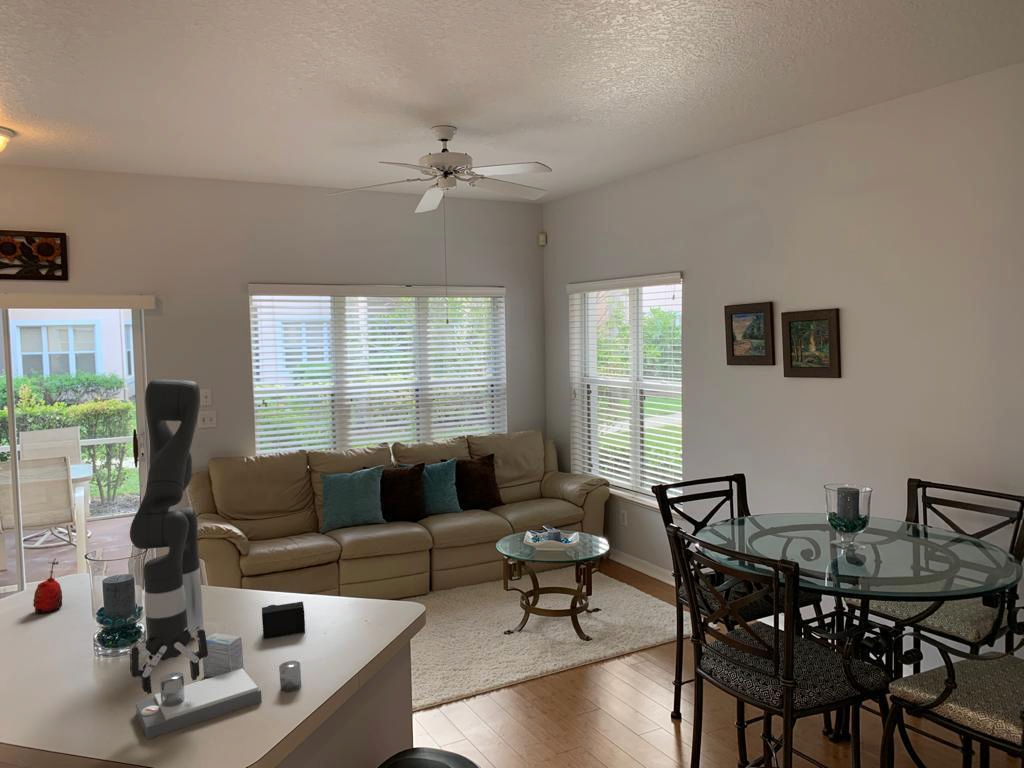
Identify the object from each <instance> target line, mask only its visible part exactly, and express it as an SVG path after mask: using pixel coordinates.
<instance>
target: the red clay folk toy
mask: <svg viewBox="0 0 1024 768" xmlns="http://www.w3.org/2000/svg"><path fill="white" fill-rule="evenodd" d="M56 560H57V558H54V559H53V561H52V562H50V561H48V563H49V564H52V566H51V570H49V572H50V576H49V578H47V579H46V580H44V581H42V582H40V583H38V584H37V587H36V589H35V591H34V595H33V605H32V606H33V607H34V611H35V614H39V615H40V614H41V613H42V614H47V613H51V612H55V611H56V610H57V611H58V610H59V609H61V608H62V606H63V591H62V590H63V589H62V588H61V585H60V583H59V582H58V581H57V580H56V579H55V577H53V572H54V571H53V569H54V565H59V561H58V560H57V561H56ZM55 561H56V562H55Z"/></svg>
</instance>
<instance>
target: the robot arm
mask: <svg viewBox="0 0 1024 768" xmlns="http://www.w3.org/2000/svg"><path fill="white" fill-rule="evenodd" d="M144 395H145V396H144V405H145V414H146V423H147V430H148V439H149V468H148V472H147V474H148V475H147V482H146V487H145V494H144V496H143V498H142V501H141V503H140V505H139V508H138V510H137V511H136V514H135V515H134V517H133V518H132V522H131V525H130V529H129V539H130V541H131V543H132V545H133V546H134V547H135V548H137V549H140V550H148V549H159V548H161V549H162V548H168V553H166V554H164V555H160V556H157V557H154V558H151V559H149V560H147V561H146V562H145V564H144V565H143V581H144V582H143V583H144V591H145V592H144V613H145V614H144V615H145V626H146V640H145V642H143V643H139V644H136V643H131V644H130V645H129V672H130V673H131V676H132V678H137V677H140V678H141V689H142V690H143V692H144V693H146V694H147V695H150V694H152V680H151V675H150V673H151V672H152V670H153V669H154V668H155V667H157V664H158V663H159V662H160V661H161V662H162V661H163V662H164V661H166V660H169V659H171V658H179V657H180V655H184V656H185V658H187V659H189V672H190V679H191V680H192V682H193V681H196V680H197V679H198V677H200V661H201V659H202V660H203V657H207V656H208V650H207V643H206V638H207V637H206V630H205V629H204V628H205V627H204V612H203V611H204V610H203V595H202V585H201V584H202V583H201V580H202V579H201V570H200V559H199V558H200V557H199V542H198V541H199V536H198V534H199V533H198V531H199V529H198V528H199V525H198V515H197V512H196V510H195V509H194V507H191V506H190V507H189V506H188V507H180V508H174V509H173V508H172V507H175V506H176V505H178V504H179V503H181V501H182V499H183V496H184V491H185V490H186V489H187V487H188V486H189V484H190V483H191V480H192V478H193V477H192V476H193V470H192V469H193V465H192V464H193V460H192V459H193V458H192V454H191V451H190V450H191V447H192V443H193V439H194V435H195V430H196V426H197V421H198V418H199V412H200V406H201V405H200V404H201V390H200V386H199V384H198V383H197V382H196V381H193V380H184V379H183V380H179V379H178V380H177V379H163V378H162V379H160V378H159V379H154V380H153V379H152V380H150V381H149V383H147V386H146V389H145V392H144ZM168 421H169V422H180V424H179V426H178V428H177V430H176V432H175V433H174V432H173V431H172V429H170V427H169V425H168V423H167V422H168ZM170 508H172V509H170ZM191 639H194V640H195V641H197V646H198V650H197V651H196V652H194V650H192V649H191V648H190V647H189V646H188V644H189V642H190V641H191ZM144 651H147V652H149V654H148V655H147V657H146V658H145V661H144V663H143V665H142V666H141V667H140V665H139V664H140V661H139V660H140V656H142V655H143V652H144Z"/></svg>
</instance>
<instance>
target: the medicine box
mask: <svg viewBox="0 0 1024 768" xmlns="http://www.w3.org/2000/svg"><path fill="white" fill-rule="evenodd" d="M242 642H243V641H242V636H240V635H233V634H225V633H216V632H215V633H212V634H210V635H208V636H207V637H206V643H207V650H208V656H207V657H203V658H202V669H203V670H202V671H203V676H204V677H209V678H212V677H215V676H219V675H222V674H225V673H229V672H232V671H235V670H239V669H242V668H243V669H244V670H245V666H244V655H243V643H242Z"/></svg>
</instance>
